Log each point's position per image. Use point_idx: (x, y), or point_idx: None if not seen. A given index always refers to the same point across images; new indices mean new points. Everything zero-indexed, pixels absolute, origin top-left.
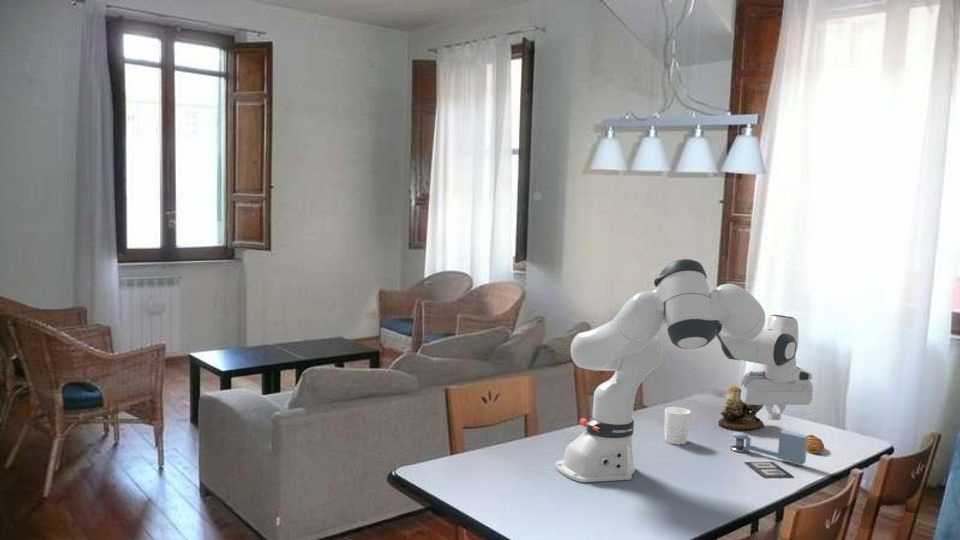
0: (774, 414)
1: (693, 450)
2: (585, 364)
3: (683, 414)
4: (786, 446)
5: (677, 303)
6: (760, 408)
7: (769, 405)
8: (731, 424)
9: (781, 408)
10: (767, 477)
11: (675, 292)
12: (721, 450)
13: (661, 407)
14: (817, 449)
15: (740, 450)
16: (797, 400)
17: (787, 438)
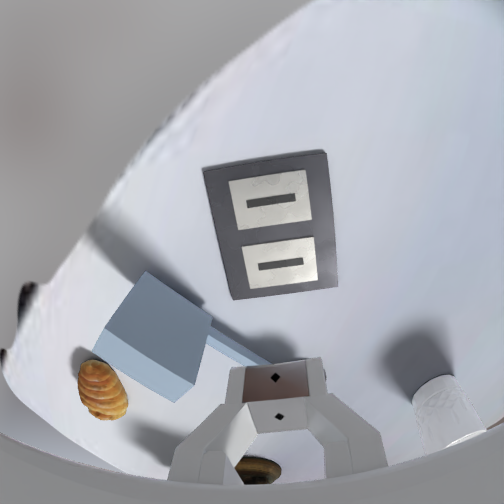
0: (296, 394)
1: (431, 350)
2: None
3: (468, 433)
4: (179, 333)
5: None
6: None
7: (383, 461)
8: (262, 469)
9: (214, 453)
10: (309, 155)
11: None
12: (356, 367)
13: None
14: (90, 367)
15: (306, 368)
16: (41, 488)
17: (170, 354)
